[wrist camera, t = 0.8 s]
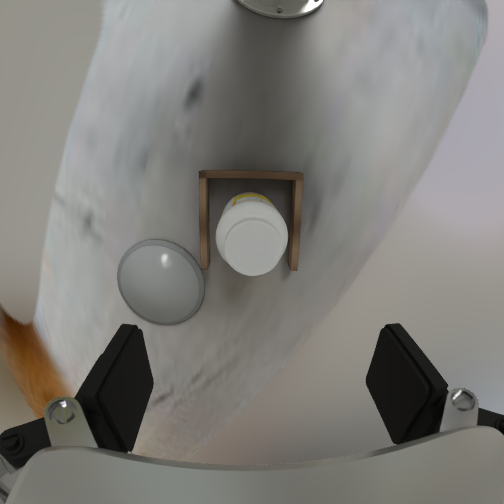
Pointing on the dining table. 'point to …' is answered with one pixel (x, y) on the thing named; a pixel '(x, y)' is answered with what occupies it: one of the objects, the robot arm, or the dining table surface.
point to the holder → (294, 176)
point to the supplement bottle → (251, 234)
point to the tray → (161, 281)
